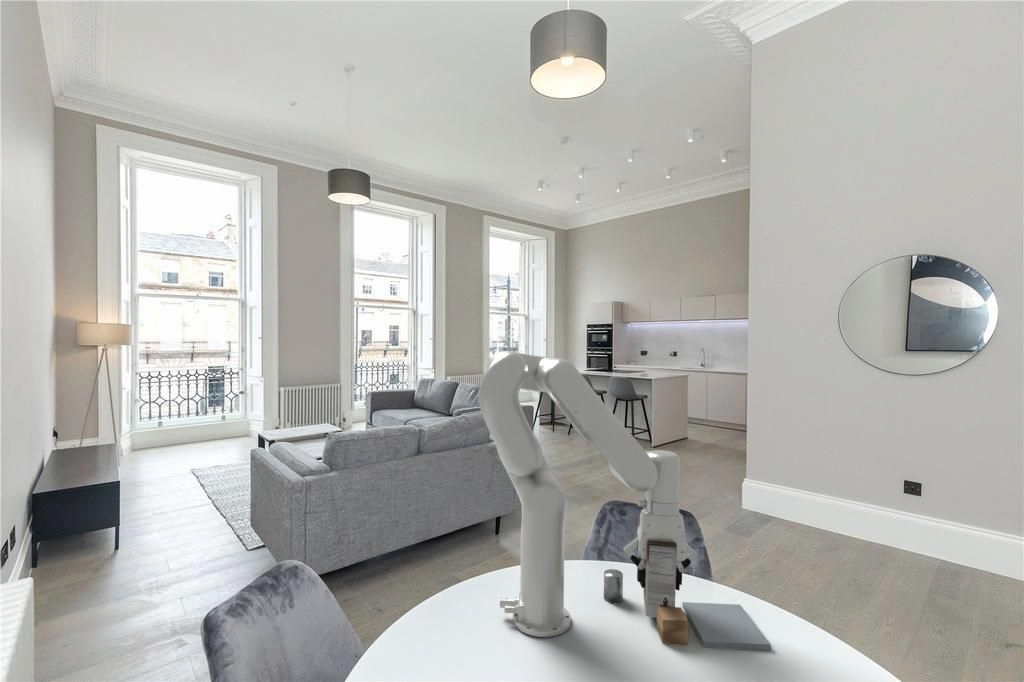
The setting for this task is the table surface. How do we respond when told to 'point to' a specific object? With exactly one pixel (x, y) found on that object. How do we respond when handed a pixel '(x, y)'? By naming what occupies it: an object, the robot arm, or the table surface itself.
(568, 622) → the robot arm
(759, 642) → the slate board
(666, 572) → the coffee box
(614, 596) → the metal canister
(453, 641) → the table surface
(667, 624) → the walnut block
